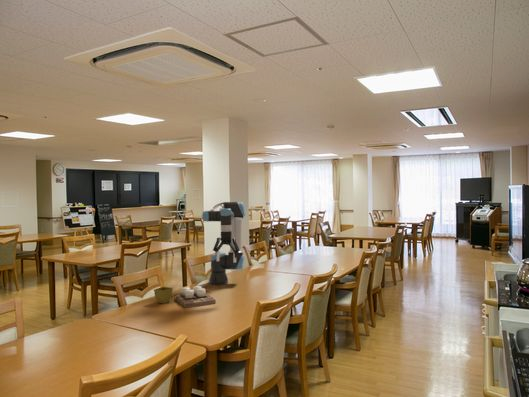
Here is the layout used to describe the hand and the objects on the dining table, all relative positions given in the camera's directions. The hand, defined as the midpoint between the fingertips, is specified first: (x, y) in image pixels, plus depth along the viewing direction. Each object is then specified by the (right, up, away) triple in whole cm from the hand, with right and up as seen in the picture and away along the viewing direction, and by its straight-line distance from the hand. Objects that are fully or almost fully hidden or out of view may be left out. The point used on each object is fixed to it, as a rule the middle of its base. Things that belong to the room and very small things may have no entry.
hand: (226, 261), depth 270 cm
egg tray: (-20, -24, -12) cm, 33 cm away
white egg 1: (-26, -21, -7) cm, 34 cm away
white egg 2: (-19, -21, -4) cm, 28 cm away
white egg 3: (-16, -21, -11) cm, 28 cm away
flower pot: (-40, -24, -14) cm, 49 cm away
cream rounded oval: (-23, -21, -14) cm, 34 cm away
